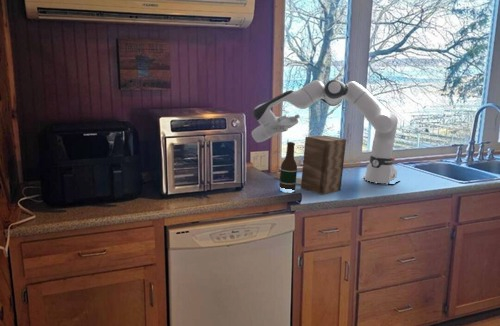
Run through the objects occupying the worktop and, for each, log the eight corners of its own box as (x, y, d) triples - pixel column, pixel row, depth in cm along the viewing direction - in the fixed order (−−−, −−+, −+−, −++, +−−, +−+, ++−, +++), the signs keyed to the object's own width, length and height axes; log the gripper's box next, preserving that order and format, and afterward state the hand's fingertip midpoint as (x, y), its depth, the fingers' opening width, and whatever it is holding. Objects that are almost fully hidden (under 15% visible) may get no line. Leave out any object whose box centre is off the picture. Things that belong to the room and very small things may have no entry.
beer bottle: (293, 194, 215) (298, 144, 211) (277, 192, 217) (281, 142, 212) (295, 190, 223) (300, 142, 218) (280, 188, 224) (284, 140, 220)
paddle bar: (279, 177, 249) (279, 172, 249) (308, 185, 236) (308, 179, 235) (276, 177, 247) (276, 172, 247) (305, 185, 234) (306, 180, 233)
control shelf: (319, 184, 239) (324, 135, 234) (340, 190, 230) (346, 139, 225) (300, 188, 228) (305, 137, 223) (322, 194, 219) (327, 141, 214)
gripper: (259, 121, 240) (278, 110, 230) (284, 120, 254) (302, 110, 245) (263, 132, 238) (282, 122, 229) (288, 130, 253) (306, 121, 244)
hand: (293, 115), depth 237 cm, fingers open, 8 cm apart
